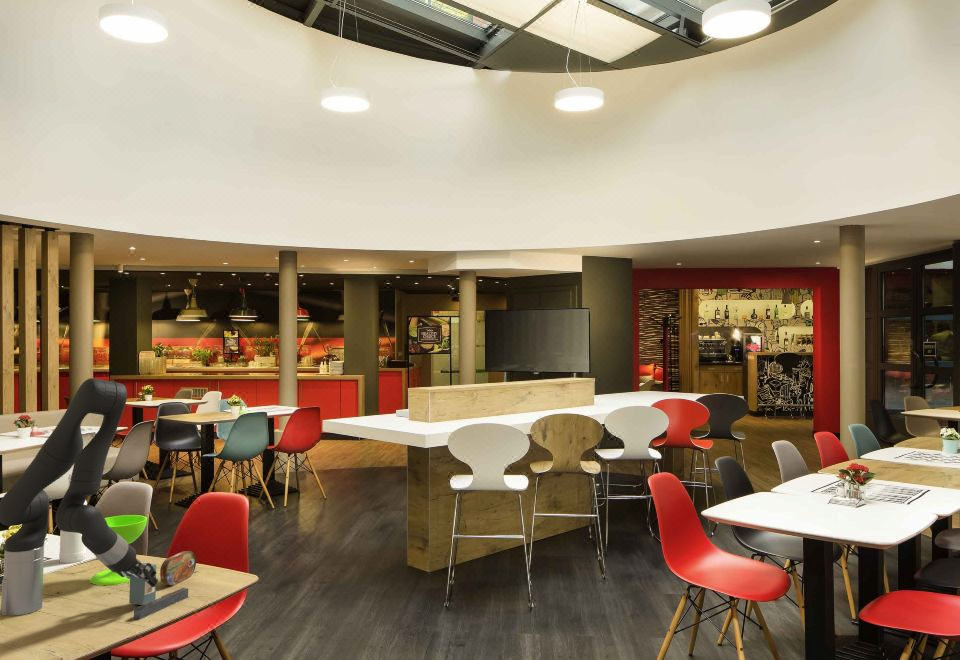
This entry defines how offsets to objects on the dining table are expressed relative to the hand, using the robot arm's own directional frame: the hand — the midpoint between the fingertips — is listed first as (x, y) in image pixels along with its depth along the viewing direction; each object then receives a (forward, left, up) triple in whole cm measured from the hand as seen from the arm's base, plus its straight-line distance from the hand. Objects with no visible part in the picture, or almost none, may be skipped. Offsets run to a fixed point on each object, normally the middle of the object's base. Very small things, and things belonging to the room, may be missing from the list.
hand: (147, 582), depth 195 cm
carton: (-1, -1, -5) cm, 5 cm away
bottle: (-23, +57, -6) cm, 62 cm away
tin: (+9, +17, -6) cm, 20 cm away
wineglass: (-8, +29, -6) cm, 31 cm away
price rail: (+4, -6, -6) cm, 9 cm away
